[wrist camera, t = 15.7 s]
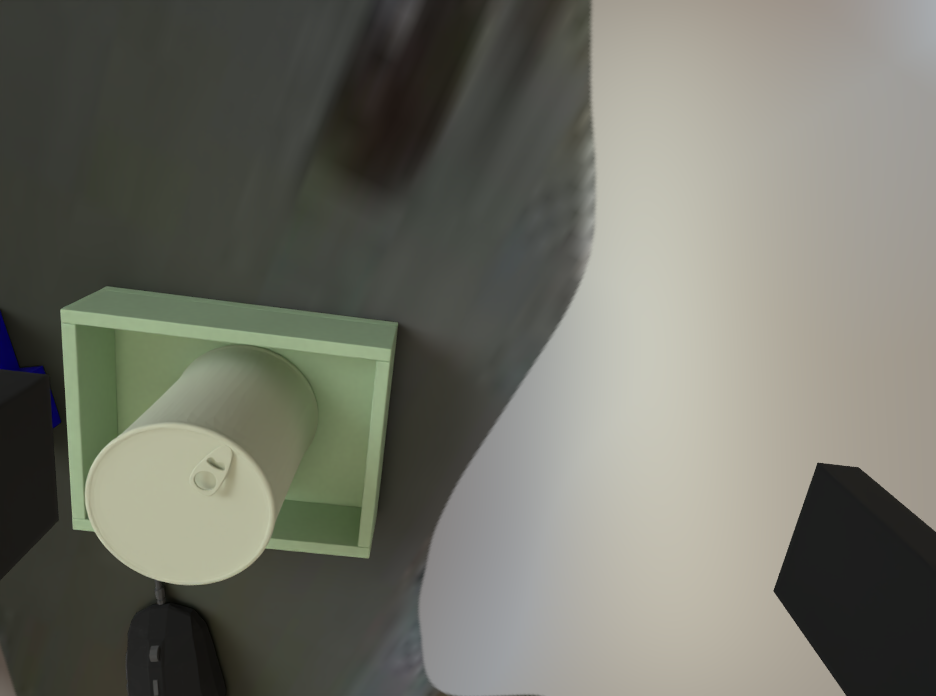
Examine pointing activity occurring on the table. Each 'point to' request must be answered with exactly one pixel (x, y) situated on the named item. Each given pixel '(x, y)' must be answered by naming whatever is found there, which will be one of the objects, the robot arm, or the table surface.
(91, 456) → the bin
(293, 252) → the table surface
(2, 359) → the cable holder
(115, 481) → the can
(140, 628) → the gaming mouse
